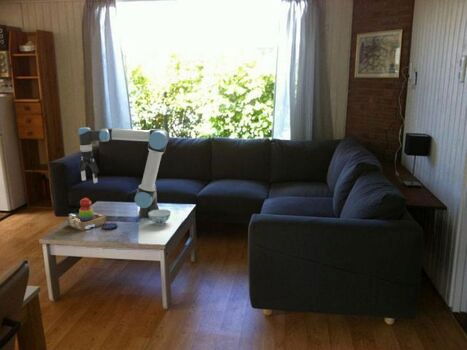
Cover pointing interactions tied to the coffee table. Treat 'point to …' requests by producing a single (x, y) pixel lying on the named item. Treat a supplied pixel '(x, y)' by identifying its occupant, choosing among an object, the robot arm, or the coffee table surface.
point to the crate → (81, 225)
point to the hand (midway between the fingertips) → (89, 181)
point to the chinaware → (159, 216)
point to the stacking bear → (85, 210)
